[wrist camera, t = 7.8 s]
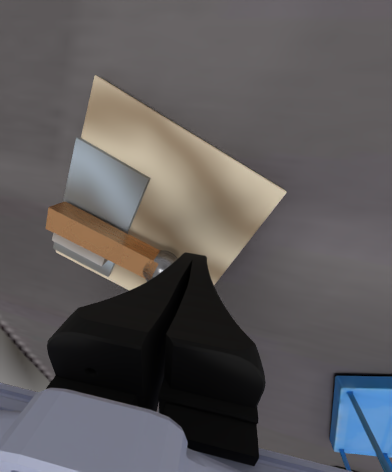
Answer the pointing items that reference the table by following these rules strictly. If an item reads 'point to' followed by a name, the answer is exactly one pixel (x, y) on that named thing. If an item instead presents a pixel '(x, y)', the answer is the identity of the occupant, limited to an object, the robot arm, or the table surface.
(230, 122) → the table surface
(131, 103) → the door frame board
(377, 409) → the file sorter
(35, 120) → the table surface
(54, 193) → the table surface
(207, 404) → the robot arm
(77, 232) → the bar
